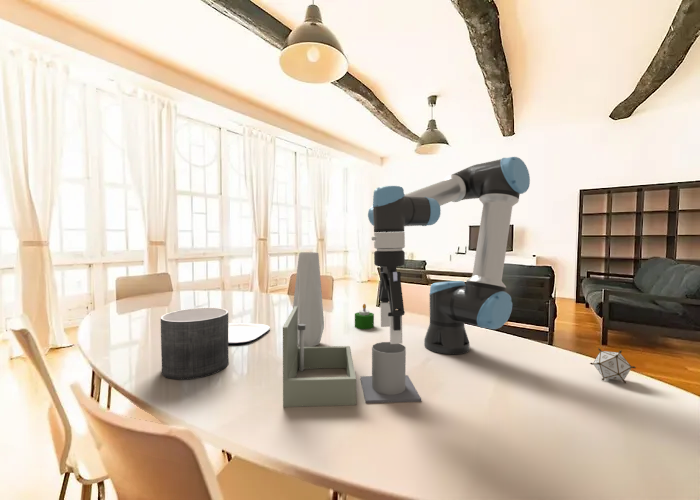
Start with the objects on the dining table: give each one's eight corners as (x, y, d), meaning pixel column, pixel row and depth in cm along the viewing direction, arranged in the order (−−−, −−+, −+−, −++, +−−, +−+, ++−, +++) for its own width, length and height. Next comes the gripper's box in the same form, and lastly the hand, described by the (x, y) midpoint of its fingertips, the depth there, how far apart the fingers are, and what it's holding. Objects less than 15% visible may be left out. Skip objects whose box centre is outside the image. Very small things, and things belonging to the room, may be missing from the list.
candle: (353, 328, 135) (353, 305, 134) (356, 323, 143) (356, 301, 142) (372, 329, 133) (373, 306, 133) (374, 324, 141) (374, 302, 141)
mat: (407, 377, 87) (407, 375, 87) (421, 401, 74) (421, 398, 74) (360, 378, 86) (360, 376, 86) (365, 403, 73) (365, 400, 73)
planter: (241, 361, 98) (241, 310, 98) (191, 385, 82) (190, 324, 82) (200, 352, 106) (200, 305, 105) (147, 373, 90) (146, 317, 89)
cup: (404, 396, 75) (405, 354, 75) (370, 392, 77) (370, 351, 77) (405, 380, 84) (405, 343, 83) (374, 378, 85) (374, 341, 85)
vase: (332, 345, 113) (332, 252, 112) (302, 352, 106) (302, 253, 105) (316, 337, 123) (316, 251, 122) (288, 342, 117) (287, 252, 115)
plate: (220, 325, 140) (220, 322, 140) (275, 328, 137) (275, 324, 137) (182, 344, 115) (182, 339, 115) (249, 348, 112) (248, 343, 112)
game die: (613, 391, 87) (632, 361, 88) (628, 393, 80) (649, 360, 80) (578, 369, 91) (597, 340, 92) (589, 369, 83) (610, 338, 84)
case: (350, 366, 95) (350, 305, 94) (355, 404, 72) (356, 326, 72) (294, 367, 94) (294, 306, 93) (283, 407, 71) (282, 327, 71)
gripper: (368, 248, 91) (369, 321, 92) (382, 252, 66) (384, 353, 67) (394, 247, 92) (395, 320, 93) (417, 252, 67) (419, 351, 68)
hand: (390, 334), depth 80 cm, fingers open, 13 cm apart
